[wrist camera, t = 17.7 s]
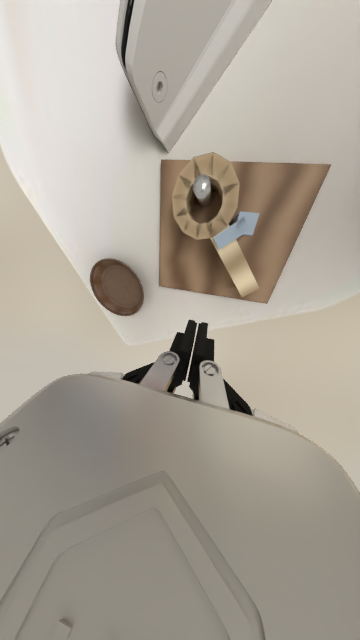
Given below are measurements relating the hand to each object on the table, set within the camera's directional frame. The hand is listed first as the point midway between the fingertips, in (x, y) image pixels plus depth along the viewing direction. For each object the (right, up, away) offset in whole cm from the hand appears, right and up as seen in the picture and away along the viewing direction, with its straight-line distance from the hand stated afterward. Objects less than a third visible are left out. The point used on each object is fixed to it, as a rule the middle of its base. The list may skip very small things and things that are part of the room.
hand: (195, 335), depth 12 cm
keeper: (+8, +18, +14) cm, 24 cm away
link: (+6, +17, +14) cm, 22 cm away
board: (+7, +17, +15) cm, 23 cm away
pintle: (+3, +23, +12) cm, 26 cm away
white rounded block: (0, +35, +6) cm, 36 cm away
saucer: (-17, +10, +25) cm, 32 cm away
